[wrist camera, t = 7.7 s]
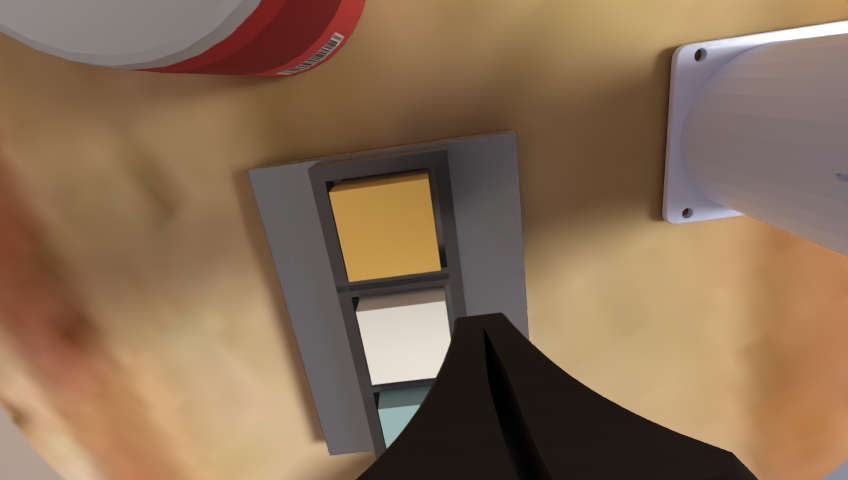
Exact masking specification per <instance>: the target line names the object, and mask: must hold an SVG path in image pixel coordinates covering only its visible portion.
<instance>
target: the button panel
mask: <svg viewBox="0 0 848 480" xmlns="http://www.w3.org/2000/svg"><path fill="white" fill-rule="evenodd" d="M425 169H428V174H429V182H430V189H431V196H432V203H433V211H434V218H435V225H436V232H437V240H438V247H439V255H440V266H441V270H439V271H432V272H424V273H416V274H408V275H400V276H392V277H385V278H377V279H369V280H361V281H353V282H349V280H348V275H347V271H346V266H345V262H344V257H343V253H342V248H341V244H340V240H339V235H338V231H337V226H336V222H335V217H334V213H333V209H332V204H331V200H330V195H329V192H330V191H331V190H332V188H333V187H334V186H335V185H336V184H337V183H338V182H339V181H346V180H354V179H361V178H368V177H375V176H382V175H389V174H396V173H404V172H411V171H418V170H425ZM248 174H249V178H250V181H251V185H252V188H253V192H254V195H255V199H256V202H257V205H258V209H259V212H260V216H261V219H262V223H263V226H264V230H265V233H266V236H267V240H268V243H269V247H270V250H271V254H272V257H273V261H274V264H275V268H276V271H277V274H278V278H279V281H280V285H281V288H282V292H283V295H284V299H285V302H286V306H287V309H288V312H289V316H290V319H291V323H292V326H293V330H294V333H295V337H296V340H297V343H298V347H299V350H300V354H301V357H302V361H303V364H304V368H305V371H306V375H307V378H308V381H309V385H310V388H311V392H312V395H313V399H314V402H315V406H316V409H317V413H318V416H319V419H320V423H321V426H322V430H323V433H324V437H325V440H326V444H327V447H328V450H329V454H330V455H340V454H349V453H358V452H368V451H375V454H376V458H377V459H378V458H379V457H380V456H381V455H382V454H383V452H384V451H385V450H386V449H387V448H386V444H385V439H384V435H383V430H382V426H381V421H380V417H379V413H378V405H379V398H380V392H383V391H392V390H401V389H409V388H418V387H427V386H432V384H433V383H434V380H435V378H427V379H418V380H410V381H401V382H392V383H384V384H375V385H372V382H371V377H370V373H369V368H368V364H367V359H366V355H365V350H364V346H363V342H362V337H361V333H360V328H359V324H358V319H357V315H356V310H357V307H358V303H359V300H360V297H361V296H366V295H374V294H382V293H390V292H398V291H406V290H414V289H422V288H430V287H438V286H444V290H445V298H446V305H447V312H448V319H449V326H450V334H451V338H452V334H453V329H454V321H455V320H456V319H457V318H458V317H466V316H475V315H483V314H491V313H499V312H502V313H503V314H504V315H505V316H506V317H507V318H508V319H509V320H510V321H511V322H512V324H513V325H514V326H515V327H516V328H517V329H518V330H519V331H520V332H521V333H522V334H523V335H524V336H525V337H526V338H527V339H528V340H529V332H528V316H527V300H526V284H525V267H524V251H523V235H522V219H521V203H520V187H519V171H518V155H517V139H516V132H515V131H513V130H511V129H510V130H503V131H496V132H489V133H482V134H475V135H468V136H461V137H454V138H447V139H440V140H433V141H426V142H419V143H412V144H405V145H398V146H391V147H384V148H377V149H370V150H363V151H356V152H349V153H342V154H335V155H328V156H321V157H314V158H307V159H300V160H293V161H286V162H279V163H272V164H266V165H259V166H256V167H254V168H252V169H250V170H248Z"/></svg>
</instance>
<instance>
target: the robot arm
mask: <svg viewBox="0 0 848 480" xmlns="http://www.w3.org/2000/svg"><path fill="white" fill-rule="evenodd" d="M698 49H699V50H700V51H701V57H700V59H699V60H698V61H696V60H695V58H694V55H695V52H696V51H697V50H698ZM686 208H688V213H687V214H686V215H684V216H682V212H683V210H685V209H686ZM662 215H663V218H664V220H665V221H667V222H669V223H671V224H680V223H688V222H696V221H704V220H711V219H719V218H727V217H734V216H742V215H748V216H750V217H753V218H755V219H757V220H760V221H762V222H765V223H767V224H770V225H772V226H775V227H777V228H780V229H782V230H784V231H787V232H789V233H792V234H794V235H797V236H799V237H802V238H804V239H806V240H809V241H811V242H814V243H816V244H819V245H821V246H824V247H826V248H829V249H831V250H833V251H836V252H838V253H841V254H843V255H846V256H848V20H845V21H839V22H832V23H826V24H819V25H812V26H806V27H799V28H792V29H786V30H779V31H772V32H766V33H759V34H752V35H746V36H739V37H732V38H726V39H719V40H712V41H706V42H699V43H692V44H686V45H682V46H680V47H679V48H677V49H676V50H675V52H674V53H673V56H672V64H671V81H670V97H669V114H668V130H667V146H666V163H665V179H664V196H663V212H662ZM356 480H758V479H757V478H756V477H755V475H754V474H753V473H752V472H751V471H750V470H749V469H748V468H747V467H746V466H745V465H744V464H743V463H742V462H741V461H740V460H739V459H738V458H737V457H736V456H735V455H734V454H733V453H732V452H729V451H726V450H724V449H721V448H718V447H715V446H713V445H710V444H707V443H704V442H702V441H699V440H696V439H693V438H691V437H688V436H685V435H682V434H680V433H677V432H675V431H672V430H670V429H668V428H666V427H663V426H661V425H659V424H657V423H654V422H652V421H650V420H647V419H645V418H643V417H641V416H639V415H637V414H635V413H633V412H631V411H629V410H627V409H625V408H623V407H621V406H619V405H618V404H616V403H614V402H612V401H610V400H608V399H607V398H605V397H603V396H601V395H600V394H598V393H596V392H595V391H593V390H591V389H590V388H588V387H587V386H585V385H584V384H582V383H581V382H579V381H578V380H576V379H575V378H573V377H572V376H570V375H569V374H568V373H566V372H565V371H564V370H562V369H561V368H560V367H559V366H557V365H556V364H555V363H554V362H552V361H551V360H550V359H549V358H548V357H546V356H545V355H544V354H543V353H542V352H541V351H540V350H539V349H538V348H536V347H535V346H534V345H533V344H532V343H531V342H530V341H529V340H528V339H527V338H526V337H525V336H524V335H523V334H522V333H521V332H520V331H519V330H518V329H517V328H516V327H515V326H514V325H513V324H512V322H511V321H510V320H509V319H508V318H507V317H506V316H505V315H504V314H503V313H502V312H499V313H491V314H483V315H475V316H466V317H458V318H457V319H456V320H455V321H454V329H453V334H452V338H451V341H450V345H449V348H448V350H447V353H446V356H445V358H444V361H443V363H442V366H441V368H440V370H439V372H438V374H437V376H436V378H435V380H434V383H433V384H432V386H431V388H430V390H429V392H428V393H427V395H426V397H425V399H424V400H423V402H422V403H421V405H420V407H419V408H418V410H417V411H416V413H415V414H414V415H413V417H412V418H411V420H410V421H409V422H408V424H407V425H406V427H405V428H404V429H403V430H402V432H401V433H400V434H399V435H398V437H397V438H396V439H395V440H394V441H393V442H392V443H391V445H390V446H389V447H388V448H387V449H386V450H385V451H384V452H383V454H382V455H381V456H380V457H379V458H378V459H377V460H376V461H375V462H374V463H373V464H372V465H371V466H370V467H369V468H368V469H367V470H366V471H365V472H364V473H363V474H362V475H360V476H359V477H358V478H357V479H356Z"/></svg>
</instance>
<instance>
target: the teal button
mask: <svg viewBox="0 0 848 480" xmlns="http://www.w3.org/2000/svg"><path fill="white" fill-rule="evenodd" d="M430 388H431V386H427V387H418V388H409V389H401V390H392V391H383V392H380V398H379V405H378V413H379V417H380V421H381V426H382V430H383V435H384V439H385V444H386V448H388V447H389V446H390V445H391V443H392V442H393V441H394V440H395V439H396V438H397V437H398V435H399V434H400V433H401V432H402V430H403V429H404V428H405V427H406V425H407V424H408V422H409V421H410V420H411V418H412V417H413V415H414V414H415V413H416V411H417V410H418V408H419V407H420V405H421V403H422V402H423V400H424V399H425V397H426V395H427V393H428V392H429V390H430Z"/></svg>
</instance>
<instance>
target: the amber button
mask: <svg viewBox="0 0 848 480" xmlns="http://www.w3.org/2000/svg"><path fill="white" fill-rule="evenodd" d="M329 195H330V200H331V204H332V209H333V213H334V217H335V222H336V226H337V231H338V235H339V240H340V244H341V248H342V253H343V257H344V262H345V266H346V271H347V275H348V280H349V282H353V281H361V280H369V279H377V278H385V277H392V276H400V275H408V274H416V273H424V272H432V271H439V270H441V266H440V255H439V247H438V240H437V232H436V225H435V218H434V211H433V203H432V196H431V189H430V182H429V174H428V169H425V170H418V171H411V172H404V173H396V174H389V175H382V176H375V177H368V178H361V179H354V180H346V181H339V182H338V183H337V184H336V185H335V186H334V187H333V188H332V190H331V191H330V192H329Z"/></svg>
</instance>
